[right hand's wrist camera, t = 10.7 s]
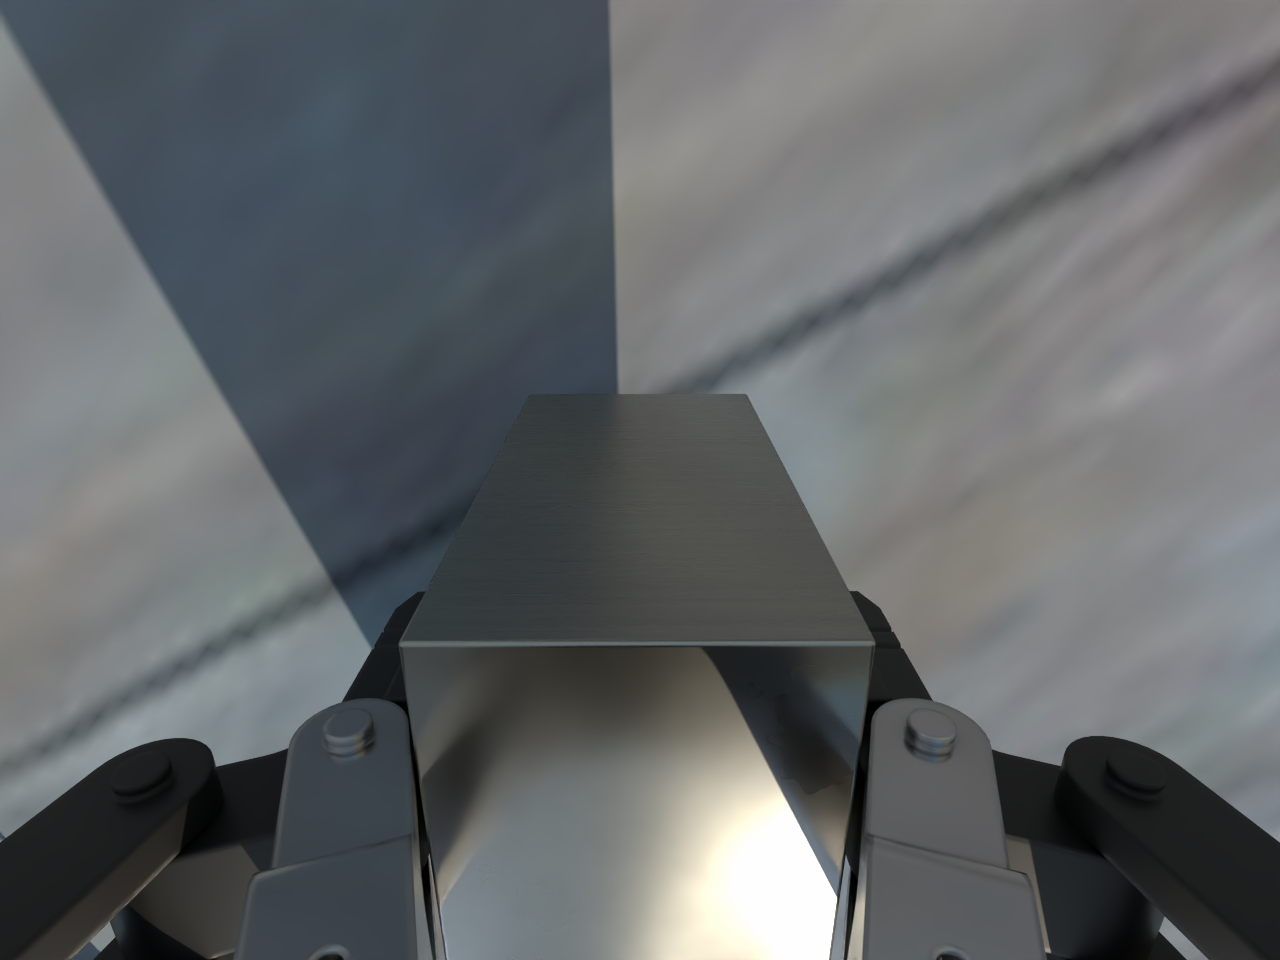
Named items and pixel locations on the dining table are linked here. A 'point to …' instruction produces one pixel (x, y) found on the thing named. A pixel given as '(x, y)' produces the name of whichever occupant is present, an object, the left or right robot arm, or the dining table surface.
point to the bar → (637, 694)
